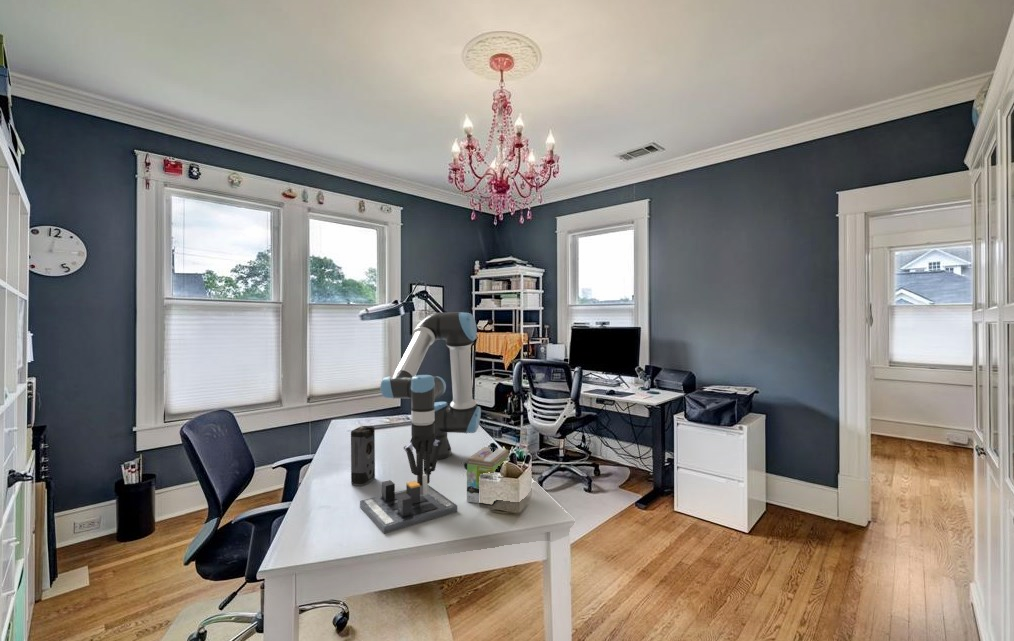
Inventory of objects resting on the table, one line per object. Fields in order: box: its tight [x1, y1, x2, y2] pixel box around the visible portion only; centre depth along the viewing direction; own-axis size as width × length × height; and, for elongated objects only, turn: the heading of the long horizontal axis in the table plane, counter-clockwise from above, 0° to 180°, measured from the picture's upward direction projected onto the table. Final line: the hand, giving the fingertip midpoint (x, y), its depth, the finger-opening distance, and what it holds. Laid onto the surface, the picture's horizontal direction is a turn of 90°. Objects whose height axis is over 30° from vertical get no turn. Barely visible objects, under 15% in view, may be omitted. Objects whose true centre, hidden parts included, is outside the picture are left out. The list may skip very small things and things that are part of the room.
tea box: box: [466, 446, 510, 504], centre depth 153 cm, size 15×10×15 cm
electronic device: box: [350, 425, 376, 487], centre depth 167 cm, size 9×6×20 cm, turn 168°
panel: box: [359, 479, 458, 535], centre depth 143 cm, size 24×22×7 cm
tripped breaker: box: [405, 480, 420, 504], centre depth 144 cm, size 3×4×6 cm
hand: (423, 494), depth 146 cm, fingers closed
